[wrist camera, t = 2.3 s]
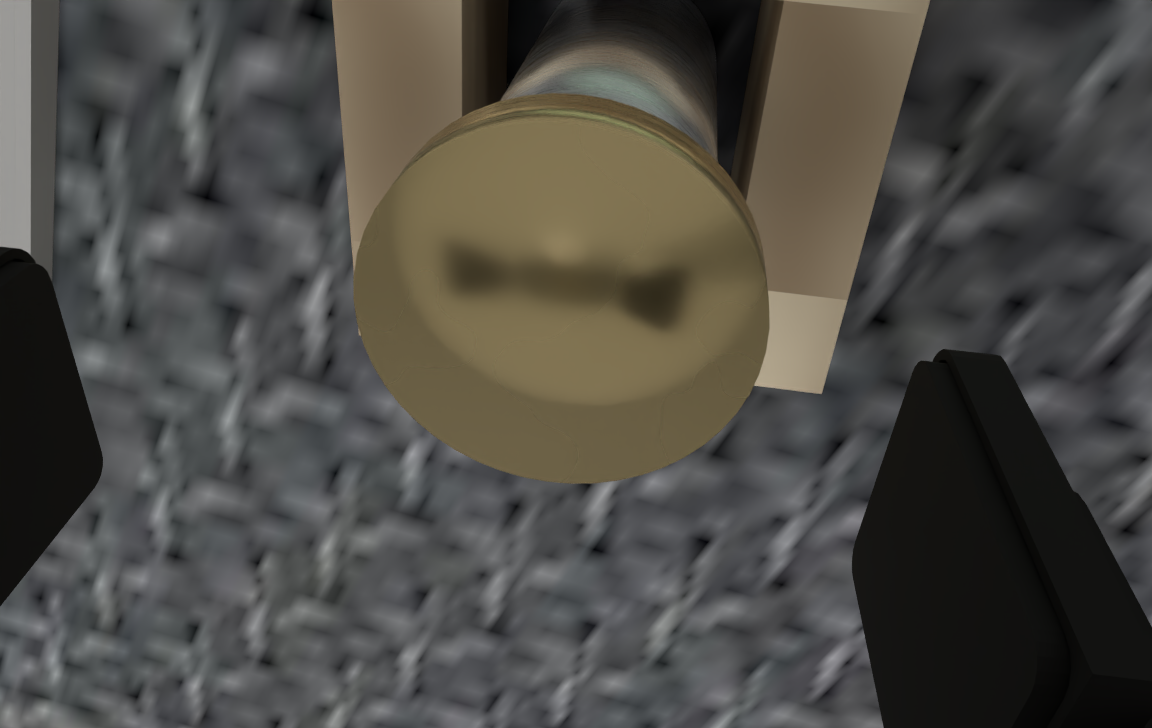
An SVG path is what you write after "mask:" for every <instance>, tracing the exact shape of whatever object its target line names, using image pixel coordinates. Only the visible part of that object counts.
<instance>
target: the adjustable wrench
mask: <svg viewBox="0 0 1152 728" xmlns="http://www.w3.org/2000/svg"><path fill="white" fill-rule="evenodd" d="M59 2H60V0H0V247H9V248H19V249H22V250H24V251H26V252H28V253H29V254H30V255H31V256H32V257H33V259H34V260H35V262H36V264H39V265H41V266H43V267H44V268H45V269H46V270H47V272H48V274H49V276H50V278H51V281H52V264H53V227H54V190H55V152H56V115H57V77H58V40H59Z"/></svg>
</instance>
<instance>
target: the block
mask: <svg viewBox="0 0 1152 728" xmlns="http://www.w3.org/2000/svg"><path fill="white" fill-rule="evenodd" d="M929 3H930V0H761V5H760V11H759V16H758V22H757V28H756V33H755V39H754V45H753V51H752V56H751V62H750V68H749V73H748V79H747V85H746V91H745V96H744V102H743V108H742V113H741V119H740V125H739V131H738V136H737V142H736V148H735V153H734V159H733V165H732V171H731V176H730V177H731V179H732V180H733V182H734V183H735V185H736V186H737V187H738V189H739V190H740V192H741V193H742V195H743V197H744V199H745V201H746V203H747V205H748V207H749V209H750V211H751V213H752V215H753V217H754V220H755V223H756V226H757V229H758V232H759V235H760V238H761V242H762V248H763V254H764V260H765V266H766V276H767V287H768V297H769V325H770V329H769V336H768V342H767V349H766V354H765V357H764V360H763V364H762V367H761V370H760V373H759V376H758V378H757V380H756V382H755V384H754V386H762V387H770V388H778V389H786V390H794V391H802V392H809V393H817V394H822V391H823V387H824V384H825V380H826V376H827V373H828V369H829V365H830V362H831V358H832V355H833V351H834V347H835V344H836V340H837V336H838V333H839V329H840V326H841V322H842V318H843V315H844V311H845V307H846V304H847V300H848V297H849V293H850V289H851V286H852V282H853V278H854V275H855V271H856V268H857V264H858V260H859V257H860V253H861V249H862V246H863V242H864V239H865V235H866V231H867V228H868V224H869V220H870V217H871V213H872V210H873V206H874V202H875V199H876V195H877V191H878V188H879V184H880V181H881V177H882V173H883V170H884V166H885V162H886V159H887V155H888V151H889V148H890V144H891V141H892V137H893V133H894V130H895V126H896V122H897V119H898V115H899V112H900V108H901V104H902V101H903V97H904V93H905V90H906V86H907V83H908V79H909V75H910V72H911V68H912V64H913V61H914V57H915V54H916V50H917V46H918V43H919V39H920V35H921V32H922V28H923V25H924V21H925V17H926V14H927V10H928V6H929ZM332 7H333V19H334V31H335V44H336V56H337V69H338V81H339V93H340V106H341V118H342V130H343V143H344V155H345V168H346V180H347V192H348V205H349V217H350V230H351V242H352V254H353V267H354V271H355V264H356V257H357V252H358V249H359V246H360V242H361V239H362V236H363V233H364V230H365V228H366V226H367V224H368V222H369V220H370V218H371V216H372V214H373V212H374V210H375V208H376V207H377V205H378V204H379V203H380V201H381V200H382V198H383V197H384V195H385V194H386V193H387V191H388V190H389V188H390V187H391V186H392V184H393V183H394V182H395V180H396V179H397V177H398V176H399V175H400V173H401V172H402V171H403V169H404V168H405V166H406V165H407V164H408V162H409V161H410V160H411V158H412V157H413V156H414V155H415V154H416V153H417V152H418V151H419V150H420V149H421V148H422V147H423V146H424V144H425V143H426V142H427V141H428V140H429V139H431V138H432V137H433V136H434V135H436V134H437V133H438V132H440V131H441V130H442V129H444V128H445V127H446V126H448V125H449V124H450V123H452V122H454V121H456V120H458V119H459V118H461V117H463V116H465V115H467V114H469V113H470V112H472V111H475V110H477V109H480V108H482V107H485V106H488V105H490V104H493V103H496V102H499V101H500V100H501V98H502V97H503V95H504V93H505V92H506V82H507V41H508V0H332ZM358 329H359V327H358ZM359 335H360V336H361V334H360V331H359Z"/></svg>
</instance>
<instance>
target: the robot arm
mask: <svg viewBox="0 0 1152 728" xmlns="http://www.w3.org/2000/svg"><path fill="white" fill-rule="evenodd" d="M102 467H103V457H102V452H101V448H100V445H99V441H98V438H97V434H96V431H95V428H94V424H93V421H92V417H91V414H90V411H89V407H88V404H87V400H86V397H85V394H84V390H83V387H82V383H81V380H80V377H79V373H78V370H77V366H76V363H75V359H74V356H73V353H72V349H71V346H70V342H69V339H68V336H67V332H66V329H65V325H64V322H63V319H62V315H61V312H60V308H59V305H58V302H57V298H56V295H55V291H54V288H53V285H52V281H51V278H50V276H49V274H48V272H47V270H46V269H45V268H44V267H43V266H41V265H39V264H36V262H35V260H34V259H33V257H32V256H31V255H30V254H29V253H28V252H26V251H24V250H22V249H19V248H9V247H0V606H1V605H2V603H3V602H4V601H5V600H6V598H7V597H8V596H9V595H10V593H11V592H12V591H13V590H14V588H15V587H16V586H17V585H18V583H19V582H20V581H21V580H22V578H23V577H24V576H25V575H26V573H27V572H28V571H29V569H30V568H31V567H32V566H33V564H34V563H35V562H36V561H37V559H38V558H39V557H40V556H41V554H42V553H43V552H44V551H45V549H46V548H47V547H48V546H49V544H50V543H51V542H52V541H53V539H54V538H55V537H56V536H57V534H58V533H59V532H60V530H61V529H62V528H63V527H64V525H65V524H66V523H67V522H68V520H69V519H70V518H71V517H72V515H73V514H74V513H75V512H76V510H77V509H78V508H79V507H80V505H81V504H82V503H83V502H84V500H85V499H86V498H87V497H88V495H89V494H90V493H91V491H92V490H93V489H94V488H95V486H96V484H97V483H98V481H99V478H100V476H101V472H102ZM852 573H853V580H854V585H855V590H856V595H857V600H858V605H859V609H860V614H861V619H862V624H863V629H864V634H865V639H866V643H867V648H868V653H869V658H870V663H871V668H872V673H873V677H874V682H875V687H876V692H877V697H878V702H879V707H880V711H881V716H882V721H883V726H884V728H1152V627H1151V625H1150V623H1149V621H1148V619H1147V617H1146V615H1145V614H1144V612H1143V610H1142V608H1141V606H1140V604H1139V602H1138V601H1137V599H1136V597H1135V595H1134V593H1133V591H1132V589H1131V587H1130V586H1129V584H1128V582H1127V580H1126V578H1125V576H1124V574H1123V572H1122V571H1121V569H1120V567H1119V565H1118V563H1117V561H1116V559H1115V557H1114V556H1113V554H1112V552H1111V550H1110V548H1109V546H1108V544H1107V542H1106V541H1105V539H1104V537H1103V535H1102V533H1101V531H1100V529H1099V527H1098V526H1097V524H1096V522H1095V520H1094V518H1093V516H1092V514H1091V513H1090V511H1089V509H1088V507H1087V505H1086V504H1085V502H1084V501H1083V500H1082V498H1081V497H1080V496H1079V494H1078V493H1076V492H1074V491H1073V490H1072V488H1071V486H1070V484H1069V482H1068V480H1067V478H1066V476H1065V475H1064V473H1063V471H1062V469H1061V467H1060V465H1059V463H1058V461H1057V459H1056V457H1055V456H1054V454H1053V452H1052V450H1051V448H1050V446H1049V444H1048V442H1047V440H1046V438H1045V437H1044V435H1043V433H1042V431H1041V429H1040V427H1039V425H1038V423H1037V421H1036V419H1035V418H1034V416H1033V414H1032V412H1031V410H1030V408H1029V406H1028V404H1027V402H1026V400H1025V399H1024V397H1023V395H1022V393H1021V391H1020V389H1019V387H1018V385H1017V383H1016V381H1015V380H1014V378H1013V376H1012V374H1011V372H1010V370H1009V368H1008V366H1007V364H1006V362H1005V361H1004V360H1003V359H1002V357H1001V356H998V355H993V354H983V353H974V352H965V351H956V350H947V349H943V350H941V351H939V352H938V353H937V355H936V356H935V357H934V359H933V362H930V361H920V362H918V364H917V365H916V366H915V368H914V371H913V373H912V376H911V379H910V382H909V385H908V387H907V390H906V393H905V396H904V399H903V402H902V405H901V408H900V411H899V414H898V417H897V420H896V423H895V426H894V429H893V432H892V435H891V438H890V441H889V444H888V447H887V450H886V452H885V455H884V458H883V461H882V464H881V467H880V470H879V473H878V476H877V479H876V482H875V485H874V488H873V491H872V494H871V497H870V500H869V503H868V506H867V509H866V512H865V515H864V518H863V520H862V523H861V526H860V529H859V532H858V535H857V538H856V541H855V545H854V549H853V557H852Z"/></svg>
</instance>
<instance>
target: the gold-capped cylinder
mask: <svg viewBox="0 0 1152 728" xmlns="http://www.w3.org/2000/svg"><path fill="white" fill-rule="evenodd" d="M354 305H355V312H356V318H357V324H358V327H359V331H360V334H361V337H362V340H363V344H364V347H365V349H366V351H367V353H368V355H369V358H370V360H371V362H372V364H373V366H374V368H375V370H376V371H377V373H378V375H379V376H380V378H381V380H382V381H383V383H384V384H385V386H386V387H387V389H388V390H389V391H390V393H391V394H392V395H393V396H394V398H395V399H396V400H397V401H398V403H399V404H400V405H401V406H402V407H403V408H404V409H405V410H406V411H407V412H408V413H409V414H410V415H411V416H412V417H413V418H414V419H415V420H416V421H417V422H418V423H419V424H420V425H421V426H423V427H424V428H425V429H426V430H428V431H429V432H430V433H431V434H433V435H434V436H435V437H436V438H438V439H439V440H441V441H442V442H444V443H445V444H447V445H449V446H450V447H452V448H453V449H455V450H456V451H458V452H460V453H462V454H464V455H466V456H468V457H470V458H472V459H474V460H476V461H478V462H480V463H483V464H485V465H488V466H490V467H493V468H495V469H498V470H500V471H504V472H507V473H511V474H514V475H518V476H521V477H526V478H531V479H536V480H542V481H548V482H559V483H600V482H608V481H617V480H622V479H626V478H631V477H635V476H640V475H643V474H646V473H649V472H652V471H655V470H658V469H660V468H663V467H665V466H667V465H670V464H672V463H674V462H676V461H678V460H680V459H682V458H684V457H686V456H687V455H689V454H690V453H692V452H694V451H695V450H697V449H698V448H700V447H701V446H703V445H704V444H705V443H707V442H708V441H709V440H710V439H711V438H713V437H714V436H715V435H716V434H717V433H719V432H720V431H721V430H722V429H723V428H724V427H725V426H726V424H727V423H728V422H729V421H730V420H731V419H732V418H733V417H734V416H735V415H736V413H737V412H738V411H739V409H740V408H741V406H742V405H743V403H744V402H745V400H746V399H747V397H748V396H749V394H750V392H751V390H752V388H753V386H754V384H755V382H756V380H757V378H758V376H759V373H760V370H761V367H762V364H763V360H764V357H765V354H766V349H767V342H768V336H769V329H770V325H769V297H768V287H767V276H766V266H765V260H764V254H763V248H762V242H761V238H760V235H759V232H758V229H757V226H756V223H755V220H754V217H753V215H752V213H751V211H750V209H749V207H748V205H747V203H746V201H745V199H744V197H743V195H742V193H741V192H740V190H739V189H738V187H737V186H736V185H735V183H734V182H733V180H732V179H731V177H730V176H729V174H728V173H727V172H726V171H725V170H724V169H723V167H722V166H721V165H720V164H719V163H718V152H717V63H716V50H715V45H714V40H713V37H712V34H711V31H710V28H709V26H708V24H707V22H706V20H705V18H704V17H703V15H702V13H701V12H700V10H699V9H698V8H697V6H696V5H695V4H694V3H693V2H692V1H691V0H563V1H562V2H561V3H560V4H559V5H558V6H557V8H556V9H555V11H554V12H553V13H552V15H551V17H550V18H549V20H548V22H547V23H546V25H545V27H544V28H543V30H542V32H541V33H540V35H539V37H538V38H537V40H536V42H535V43H534V45H533V47H532V48H531V50H530V52H529V53H528V55H527V57H526V58H525V60H524V62H523V63H522V65H521V67H520V68H519V70H518V72H517V73H516V75H515V77H514V78H513V80H512V82H511V83H510V85H509V87H508V88H507V90H506V92H505V93H504V95H503V97H502V98H501V100H500V101H499V102H496V103H493V104H490V105H488V106H485V107H482V108H480V109H477V110H475V111H472V112H470V113H469V114H467V115H465V116H463V117H461V118H459V119H458V120H456V121H454V122H452V123H450V124H449V125H448V126H446V127H445V128H444V129H442V130H441V131H440V132H438V133H437V134H436V135H434V136H433V137H432V138H431V139H429V140H428V141H427V142H426V143H425V144H424V146H423V147H422V148H421V149H420V150H419V151H418V152H417V153H416V154H415V155H414V156H413V157H412V158H411V160H410V161H409V162H408V164H407V165H406V166H405V168H404V169H403V171H402V172H401V173H400V175H399V176H398V177H397V179H396V180H395V182H394V183H393V184H392V186H391V187H390V188H389V190H388V191H387V193H386V194H385V195H384V197H383V198H382V200H381V201H380V203H379V204H378V205H377V207H376V208H375V210H374V212H373V214H372V216H371V218H370V220H369V222H368V224H367V226H366V228H365V230H364V233H363V236H362V239H361V242H360V246H359V249H358V252H357V257H356V264H355V271H354Z"/></svg>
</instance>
